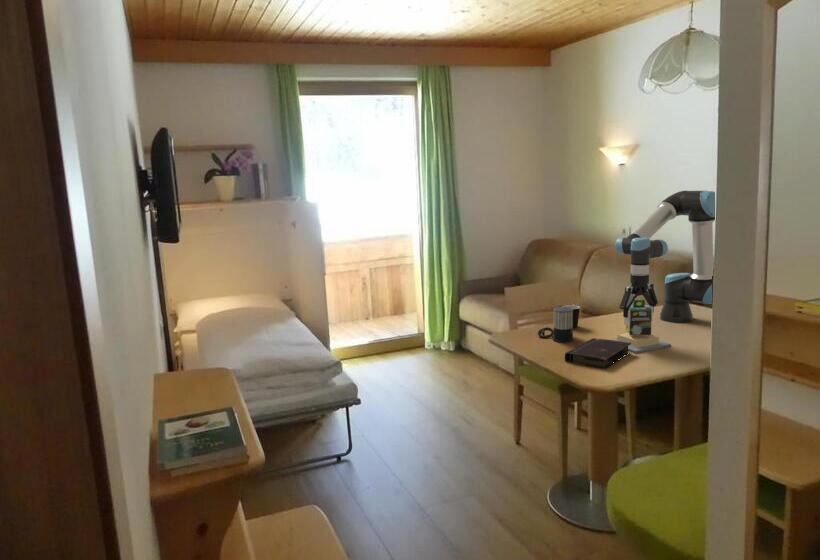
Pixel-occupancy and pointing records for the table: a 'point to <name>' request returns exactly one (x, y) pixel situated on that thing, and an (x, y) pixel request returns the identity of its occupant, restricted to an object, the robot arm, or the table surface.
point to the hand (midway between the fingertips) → (638, 322)
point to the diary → (598, 353)
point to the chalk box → (640, 319)
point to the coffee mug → (574, 314)
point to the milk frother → (560, 325)
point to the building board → (642, 349)
